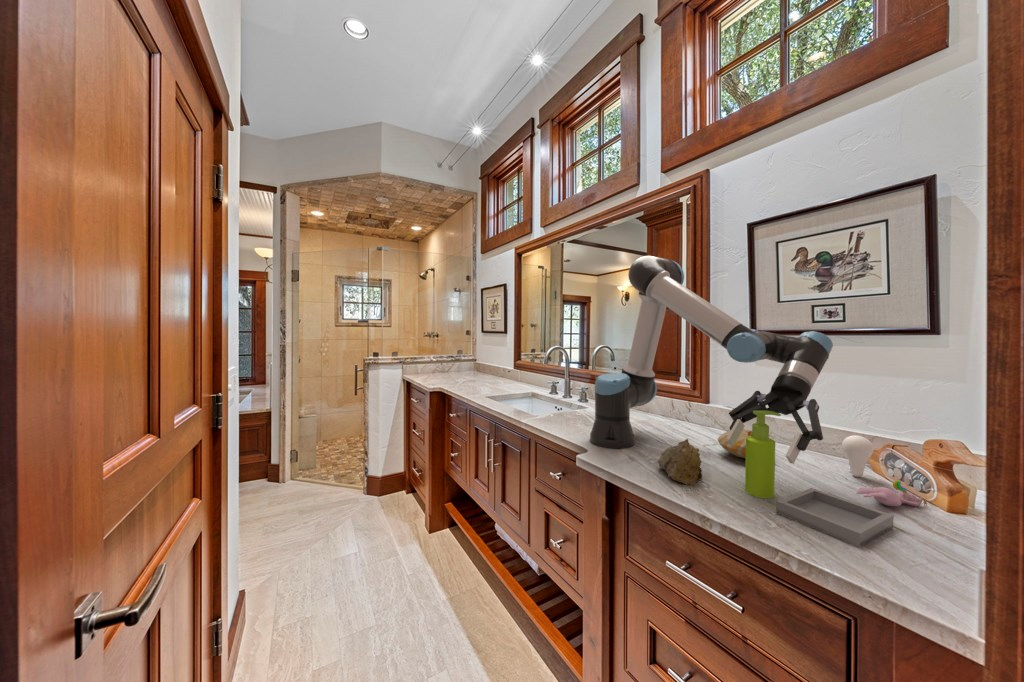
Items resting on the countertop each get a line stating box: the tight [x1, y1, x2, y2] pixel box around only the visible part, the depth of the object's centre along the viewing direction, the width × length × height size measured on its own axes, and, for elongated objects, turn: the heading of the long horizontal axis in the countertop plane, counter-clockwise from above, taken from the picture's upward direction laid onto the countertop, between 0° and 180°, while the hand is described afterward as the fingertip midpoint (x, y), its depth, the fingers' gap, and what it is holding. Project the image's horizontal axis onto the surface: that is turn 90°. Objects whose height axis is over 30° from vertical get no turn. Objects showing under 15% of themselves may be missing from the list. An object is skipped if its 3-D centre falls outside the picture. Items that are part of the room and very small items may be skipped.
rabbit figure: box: [856, 480, 928, 507], centre depth 83 cm, size 6×6×15 cm
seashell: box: [656, 438, 703, 486], centre depth 100 cm, size 11×14×10 cm
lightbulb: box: [841, 434, 875, 478], centre depth 98 cm, size 6×6×11 cm
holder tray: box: [776, 487, 894, 548], centre depth 77 cm, size 14×14×3 cm
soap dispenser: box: [744, 410, 782, 499], centre depth 89 cm, size 6×7×20 cm
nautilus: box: [717, 428, 773, 459], centre depth 114 cm, size 8×22×15 cm
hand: (757, 450), depth 88 cm, fingers open, 13 cm apart
